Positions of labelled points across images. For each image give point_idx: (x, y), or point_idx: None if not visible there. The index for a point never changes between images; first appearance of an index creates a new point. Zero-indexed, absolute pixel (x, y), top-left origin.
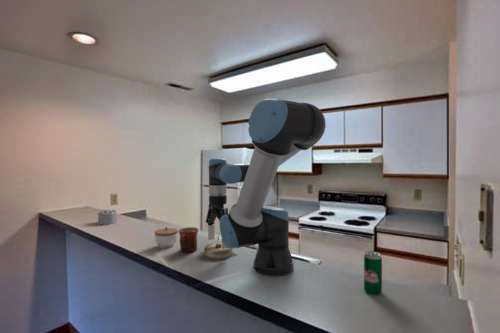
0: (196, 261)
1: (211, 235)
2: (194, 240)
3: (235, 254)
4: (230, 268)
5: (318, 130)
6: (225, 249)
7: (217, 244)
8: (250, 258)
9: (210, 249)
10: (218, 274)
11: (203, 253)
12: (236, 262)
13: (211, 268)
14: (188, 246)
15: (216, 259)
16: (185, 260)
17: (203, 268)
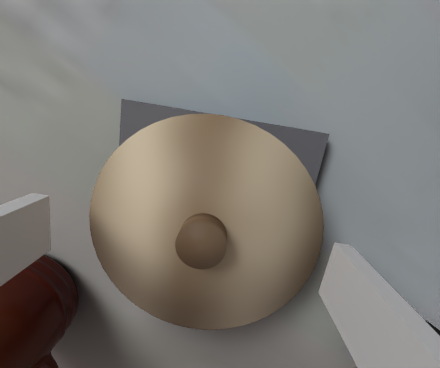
0: None
1: (12, 246)
2: (11, 349)
3: (304, 134)
4: (410, 268)
5: None
6: (295, 231)
7: (199, 254)
8: (408, 71)
9: (210, 304)
10: None
11: None
12: (376, 192)
13: (328, 327)
14: (47, 354)
15: None
16: (146, 351)
17: (297, 349)
